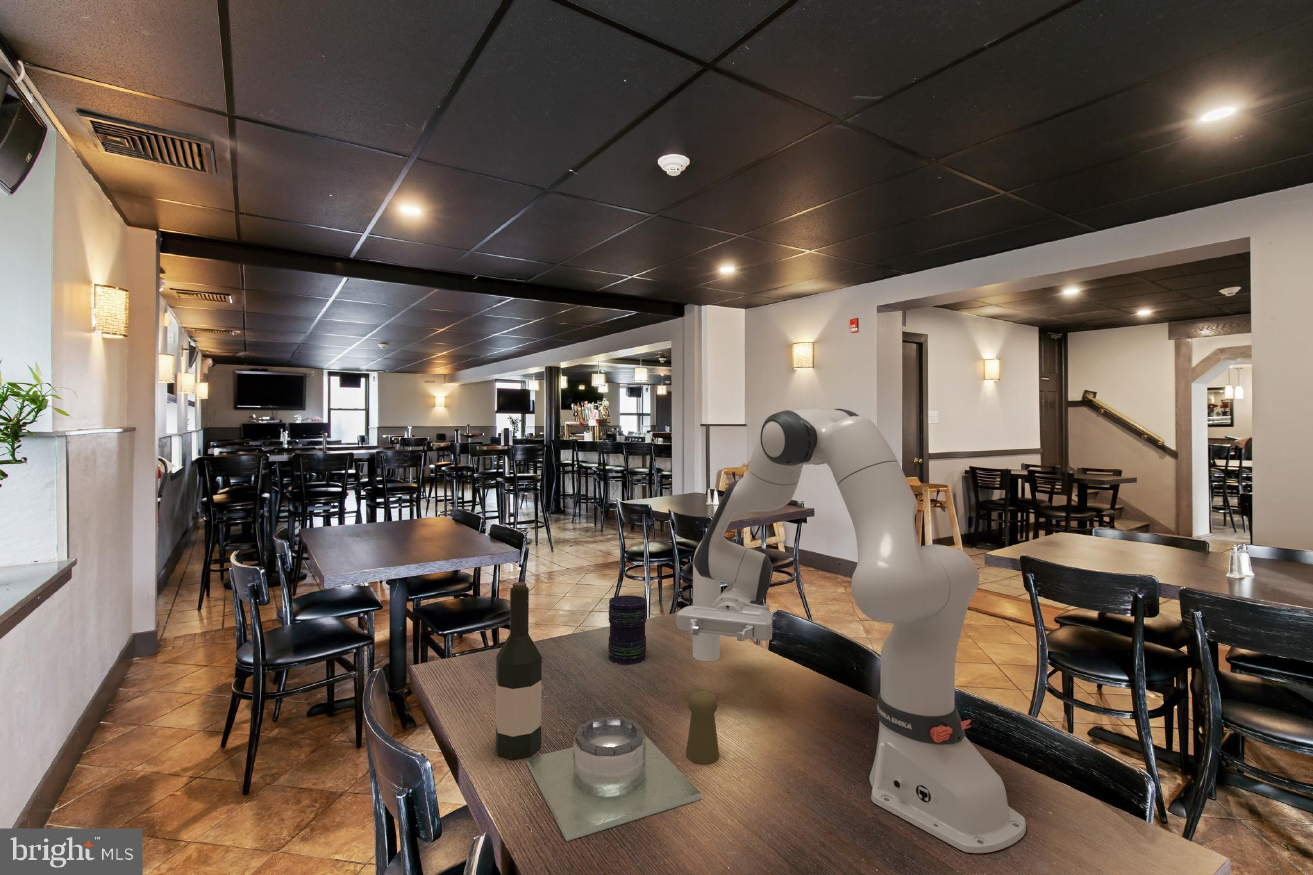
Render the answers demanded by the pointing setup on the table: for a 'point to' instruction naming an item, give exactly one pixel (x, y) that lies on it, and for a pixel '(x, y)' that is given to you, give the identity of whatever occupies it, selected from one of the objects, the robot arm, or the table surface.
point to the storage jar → (627, 629)
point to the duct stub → (608, 778)
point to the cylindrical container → (705, 596)
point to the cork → (702, 729)
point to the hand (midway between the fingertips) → (716, 634)
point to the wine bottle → (518, 684)
